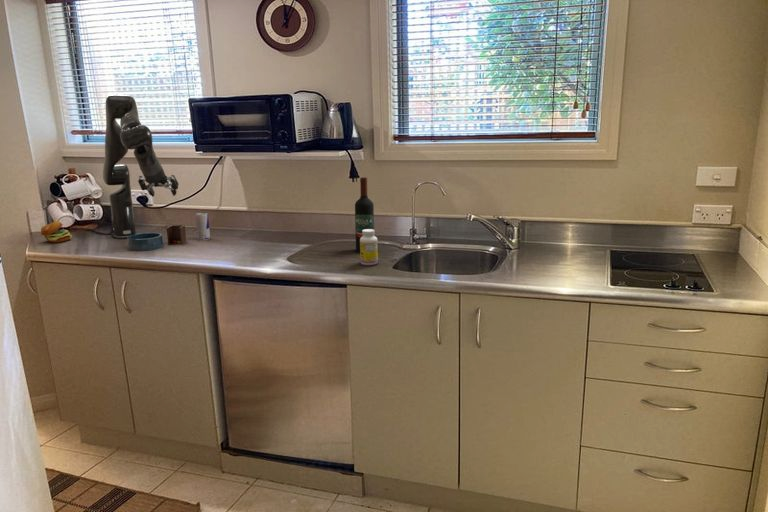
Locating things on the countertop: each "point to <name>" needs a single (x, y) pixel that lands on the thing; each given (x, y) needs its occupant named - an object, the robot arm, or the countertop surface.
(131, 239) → the bowl
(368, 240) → the supplement bottle
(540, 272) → the countertop surface
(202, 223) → the energy drink
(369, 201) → the wine bottle
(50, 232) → the cheeseburger
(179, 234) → the brown block
